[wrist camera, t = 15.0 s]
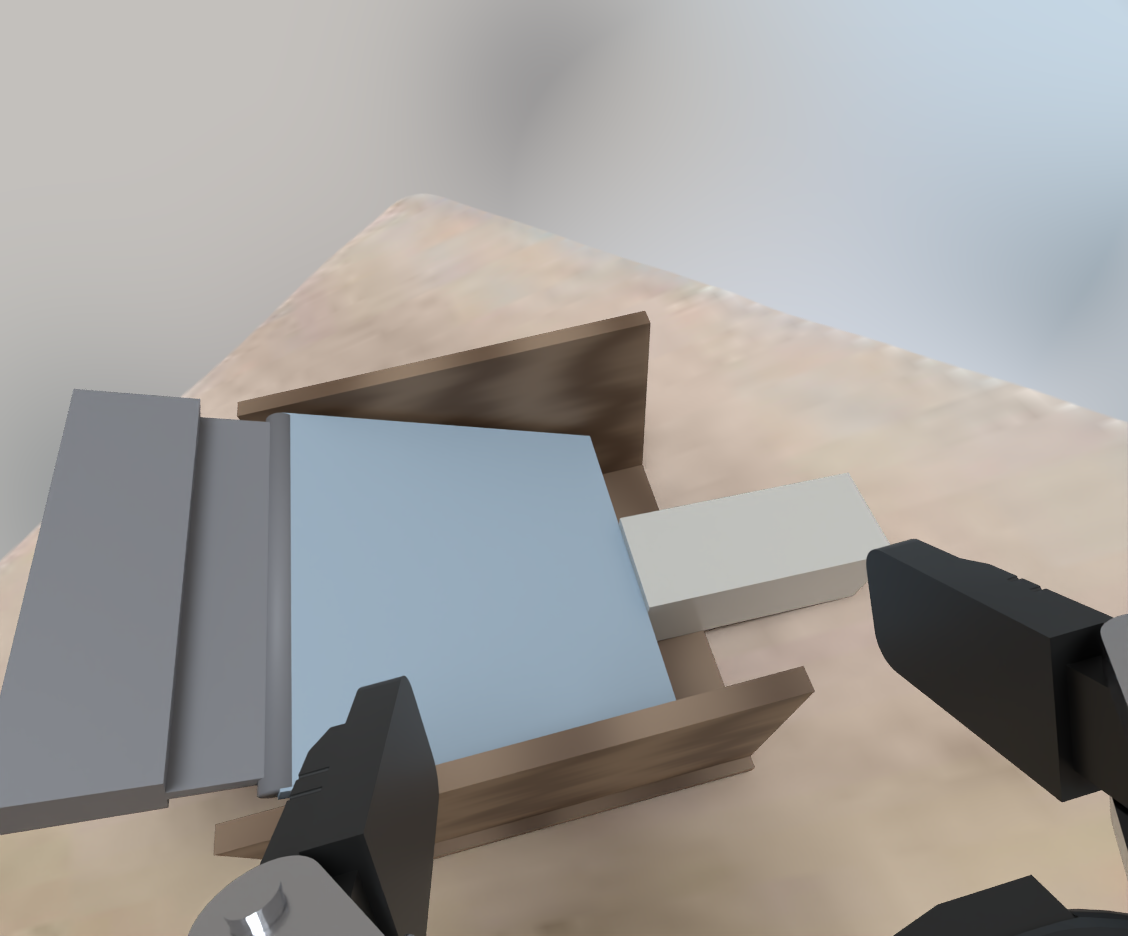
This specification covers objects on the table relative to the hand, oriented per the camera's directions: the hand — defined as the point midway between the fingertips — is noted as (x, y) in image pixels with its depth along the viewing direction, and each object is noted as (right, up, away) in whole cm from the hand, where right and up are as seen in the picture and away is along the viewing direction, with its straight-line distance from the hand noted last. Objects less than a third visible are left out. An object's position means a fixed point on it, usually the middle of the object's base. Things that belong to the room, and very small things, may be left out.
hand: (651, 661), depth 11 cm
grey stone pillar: (+2, -2, +21) cm, 21 cm away
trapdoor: (-9, -2, +16) cm, 18 cm away
